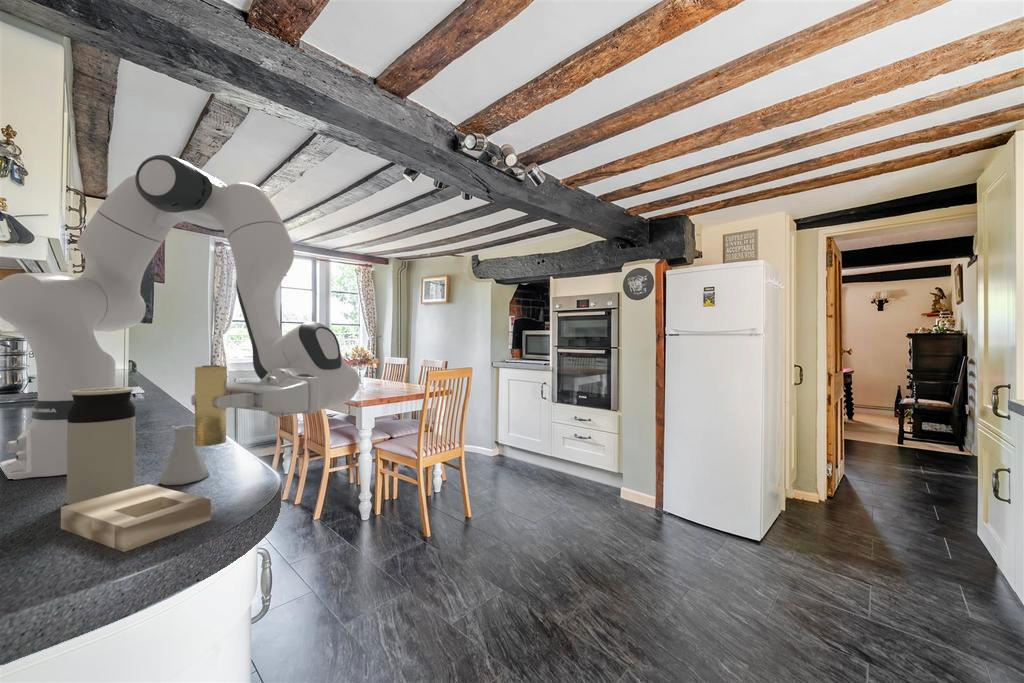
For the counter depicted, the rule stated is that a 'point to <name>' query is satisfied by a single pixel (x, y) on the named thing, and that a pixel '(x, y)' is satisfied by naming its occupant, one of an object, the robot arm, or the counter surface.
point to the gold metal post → (209, 405)
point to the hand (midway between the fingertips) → (204, 401)
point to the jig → (135, 516)
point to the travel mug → (100, 443)
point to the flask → (184, 459)
